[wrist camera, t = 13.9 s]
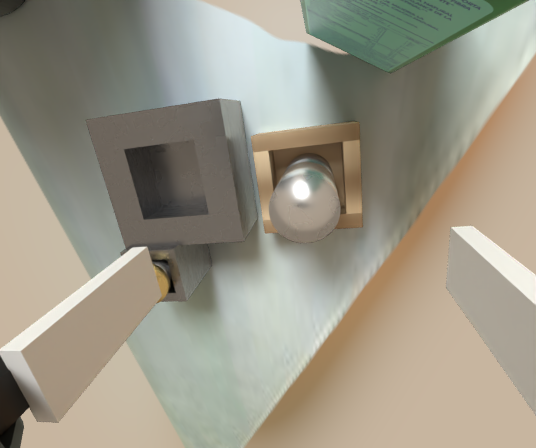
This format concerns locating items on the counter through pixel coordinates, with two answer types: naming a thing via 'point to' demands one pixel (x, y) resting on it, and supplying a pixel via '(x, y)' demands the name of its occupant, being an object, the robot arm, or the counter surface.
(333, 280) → the counter surface
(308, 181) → the shiny silver rounded cylinder
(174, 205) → the socket block
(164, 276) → the gold rounded cylinder
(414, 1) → the milk carton
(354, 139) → the tray
